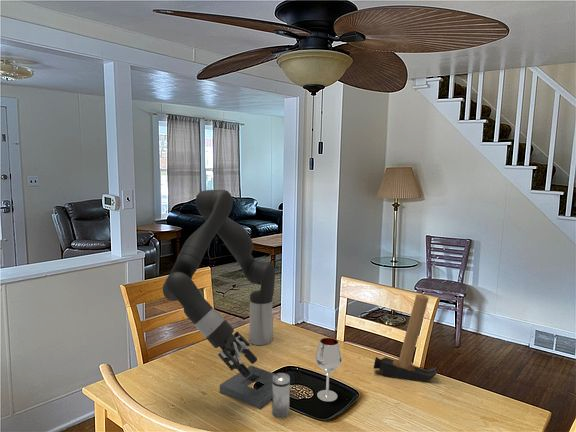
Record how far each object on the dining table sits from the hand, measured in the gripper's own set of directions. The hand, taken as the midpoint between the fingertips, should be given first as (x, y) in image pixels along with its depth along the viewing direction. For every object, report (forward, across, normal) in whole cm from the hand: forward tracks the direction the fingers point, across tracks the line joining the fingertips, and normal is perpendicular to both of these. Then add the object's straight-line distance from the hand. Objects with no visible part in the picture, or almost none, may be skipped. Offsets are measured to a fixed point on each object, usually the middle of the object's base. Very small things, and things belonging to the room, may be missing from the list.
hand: (252, 368), depth 121 cm
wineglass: (+25, +12, -6) cm, 28 cm away
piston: (+15, 0, +3) cm, 16 cm away
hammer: (+43, +30, -24) cm, 58 cm away
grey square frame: (+8, +11, +10) cm, 17 cm away
